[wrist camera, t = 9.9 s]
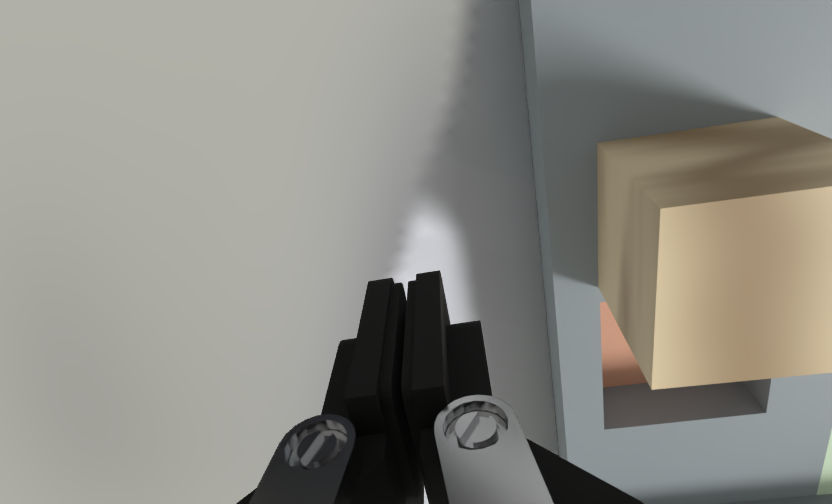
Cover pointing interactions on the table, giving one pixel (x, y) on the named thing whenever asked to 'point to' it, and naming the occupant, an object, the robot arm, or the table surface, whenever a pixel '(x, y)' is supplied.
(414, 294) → the robot arm
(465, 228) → the table surface
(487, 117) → the table surface
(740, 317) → the beech cube
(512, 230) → the table surface
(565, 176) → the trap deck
